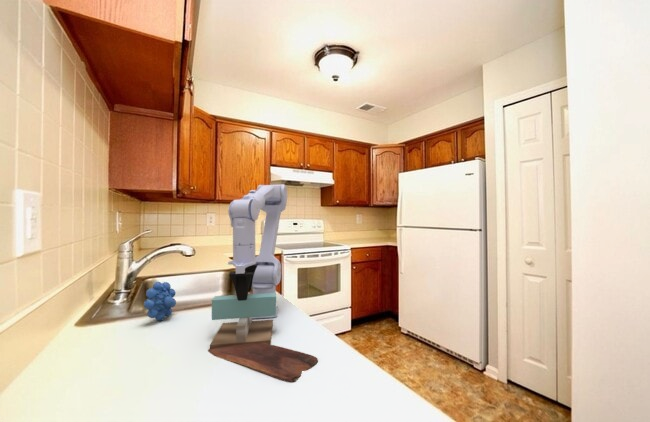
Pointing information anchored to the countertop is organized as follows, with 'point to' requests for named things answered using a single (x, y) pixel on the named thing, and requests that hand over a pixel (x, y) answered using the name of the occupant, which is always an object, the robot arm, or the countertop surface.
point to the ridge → (243, 333)
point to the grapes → (160, 300)
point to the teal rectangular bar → (244, 306)
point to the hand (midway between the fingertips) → (244, 295)
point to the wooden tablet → (268, 359)
